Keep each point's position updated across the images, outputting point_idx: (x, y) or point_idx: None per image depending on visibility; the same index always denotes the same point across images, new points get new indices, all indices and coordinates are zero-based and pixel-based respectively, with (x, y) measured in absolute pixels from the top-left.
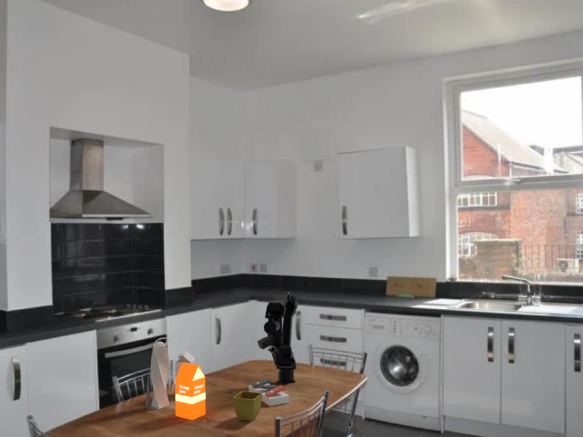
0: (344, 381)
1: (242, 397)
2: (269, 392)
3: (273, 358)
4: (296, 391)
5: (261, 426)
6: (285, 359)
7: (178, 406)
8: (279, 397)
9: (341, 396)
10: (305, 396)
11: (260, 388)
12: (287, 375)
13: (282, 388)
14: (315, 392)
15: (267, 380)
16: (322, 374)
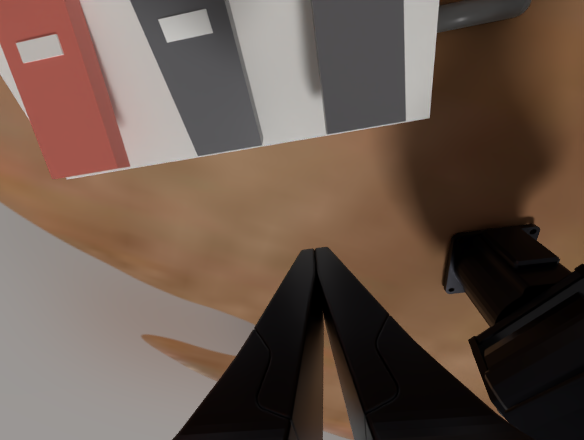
0: (345, 407)
1: None
2: (32, 24)
3: (352, 313)
4: (292, 251)
5: None
6: (549, 384)
7: None
8: (19, 100)
9: (175, 358)
10: (200, 262)
11: (290, 1)
12: (477, 284)
13: (44, 154)
14: (249, 309)
15: (344, 101)
16: (472, 388)
